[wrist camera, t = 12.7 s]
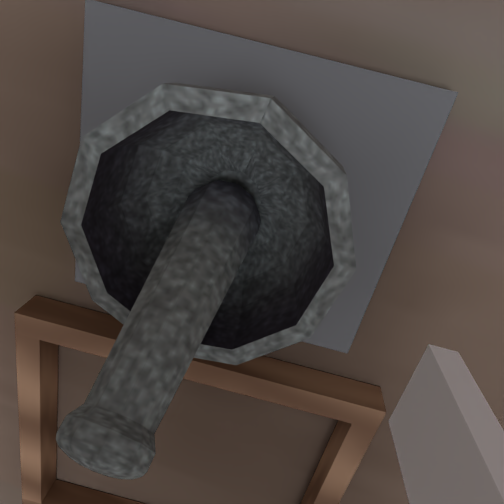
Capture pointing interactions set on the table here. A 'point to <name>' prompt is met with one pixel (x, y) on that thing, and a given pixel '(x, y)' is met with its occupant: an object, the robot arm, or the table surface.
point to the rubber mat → (304, 110)
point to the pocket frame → (202, 371)
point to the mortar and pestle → (197, 251)
